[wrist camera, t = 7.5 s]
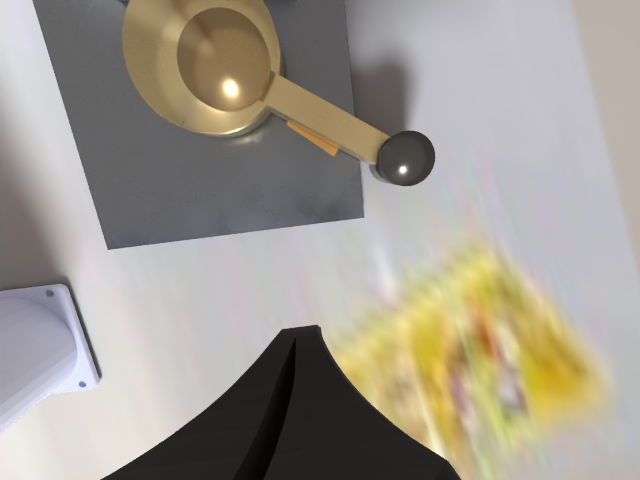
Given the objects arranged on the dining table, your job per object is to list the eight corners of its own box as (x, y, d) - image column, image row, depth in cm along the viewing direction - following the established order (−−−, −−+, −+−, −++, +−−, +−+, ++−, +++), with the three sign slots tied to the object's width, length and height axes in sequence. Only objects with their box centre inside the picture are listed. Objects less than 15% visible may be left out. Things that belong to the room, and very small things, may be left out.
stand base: (118, 245, 19) (76, 261, 16) (34, -42, 16) (-42, -98, 12) (361, 215, 19) (371, 224, 16) (332, -88, 15) (336, -160, 12)
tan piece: (133, 99, 16) (81, 79, 12) (179, -37, 15) (135, -103, 11) (377, 224, 18) (392, 238, 14) (440, 112, 16) (474, 96, 13)
